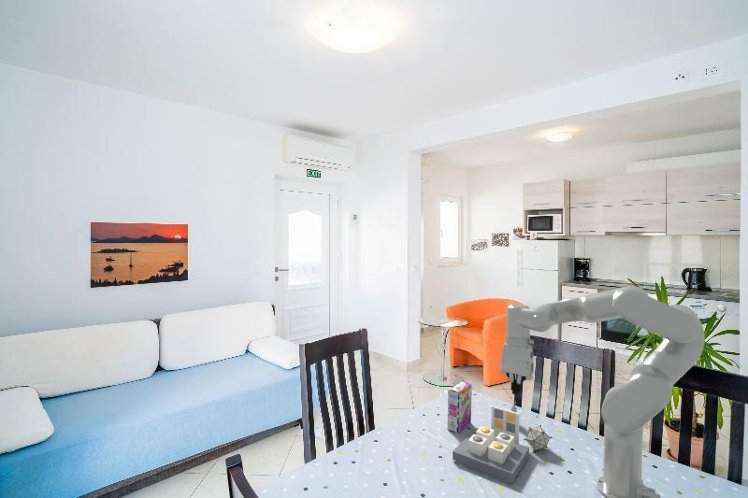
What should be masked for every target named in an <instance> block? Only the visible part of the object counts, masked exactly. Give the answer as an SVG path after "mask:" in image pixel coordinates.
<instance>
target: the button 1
mask: <svg viewBox="0 0 748 498" xmlns="http://www.w3.org/2000/svg"><path fill="white" fill-rule="evenodd" d="M476 430H477V431H476V435H478V436H481V437H484V438H487V447H489V445H490V444H491V443H492V442H493V441H494V430H492V429H491V428H489V427H486V426H484V425H483V426H482V425H481V426H480V427H479V428H478V429H476Z"/></svg>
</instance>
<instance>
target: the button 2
mask: <svg viewBox="0 0 748 498" xmlns="http://www.w3.org/2000/svg"><path fill="white" fill-rule="evenodd" d="M468 452H469V453H472V454H475V455H477V456H480V457H483V456H484V455H485V453H486V452H487V438H484V437H481V436H478V435H475V434H473V435H472V436H471V437H470V438H469V440H468Z"/></svg>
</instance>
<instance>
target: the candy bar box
mask: <svg viewBox="0 0 748 498" xmlns="http://www.w3.org/2000/svg"><path fill="white" fill-rule="evenodd" d="M472 388H473V384H472V383H467V382H465V381H460V382H458V383H456V384H455V385H454V386H451V387H449V388H448V391H447V393H448V394H447V395H448V397H447V431H450V432H453V433H455V434H460V433H461V432H462V431H463V430H464V429H466V428H467V427H468V426H469V425H470V424H471V423H472Z"/></svg>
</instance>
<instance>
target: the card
mask: <svg viewBox="0 0 748 498" xmlns="http://www.w3.org/2000/svg"><path fill="white" fill-rule="evenodd" d="M490 426H491V428H490V429H492V430H494V436H495V437H497V436H498V435H499V433H500V432H502V433H505V434H508V435H511V436H514V443H517V444H520V413H519V412H513V411H511V410H510V409H506V408H501V407H498V406H494V405H492V406H491V425H490Z"/></svg>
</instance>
